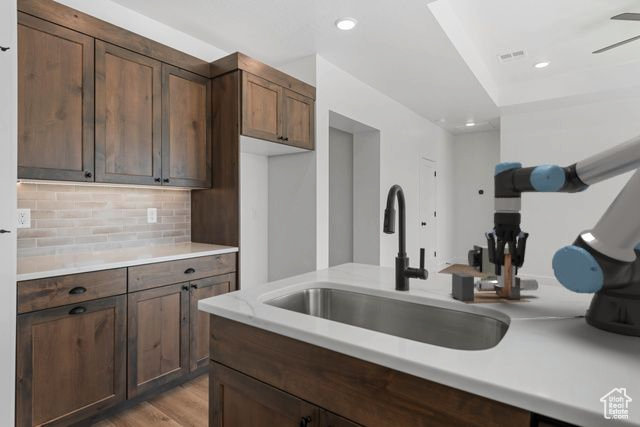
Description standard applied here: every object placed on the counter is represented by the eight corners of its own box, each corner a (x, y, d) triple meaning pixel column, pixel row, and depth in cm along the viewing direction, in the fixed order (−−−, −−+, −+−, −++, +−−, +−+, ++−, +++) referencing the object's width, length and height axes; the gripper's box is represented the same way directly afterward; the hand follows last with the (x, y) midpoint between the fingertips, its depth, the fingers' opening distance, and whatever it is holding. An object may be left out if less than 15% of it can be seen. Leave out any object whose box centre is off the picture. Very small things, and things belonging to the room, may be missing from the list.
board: (530, 304, 112) (531, 301, 112) (465, 306, 110) (465, 303, 110) (507, 294, 124) (507, 292, 124) (448, 295, 122) (448, 293, 122)
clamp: (520, 299, 114) (520, 278, 114) (508, 300, 114) (508, 278, 114) (506, 294, 121) (507, 273, 121) (495, 294, 121) (496, 274, 121)
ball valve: (513, 285, 137) (513, 241, 137) (523, 291, 129) (524, 243, 128) (466, 284, 139) (466, 240, 138) (473, 289, 131) (474, 242, 130)
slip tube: (530, 288, 120) (531, 249, 120) (553, 296, 110) (554, 253, 109) (475, 290, 118) (476, 249, 118) (493, 298, 108) (494, 254, 108)
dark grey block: (473, 301, 113) (474, 276, 112) (462, 301, 112) (462, 276, 112) (463, 295, 120) (463, 272, 119) (451, 295, 119) (452, 272, 119)
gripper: (523, 211, 113) (521, 282, 114) (476, 211, 112) (475, 283, 113) (539, 212, 106) (537, 288, 107) (489, 212, 105) (488, 289, 105)
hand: (505, 285), depth 110 cm, fingers closed on slip tube, 3 cm apart
